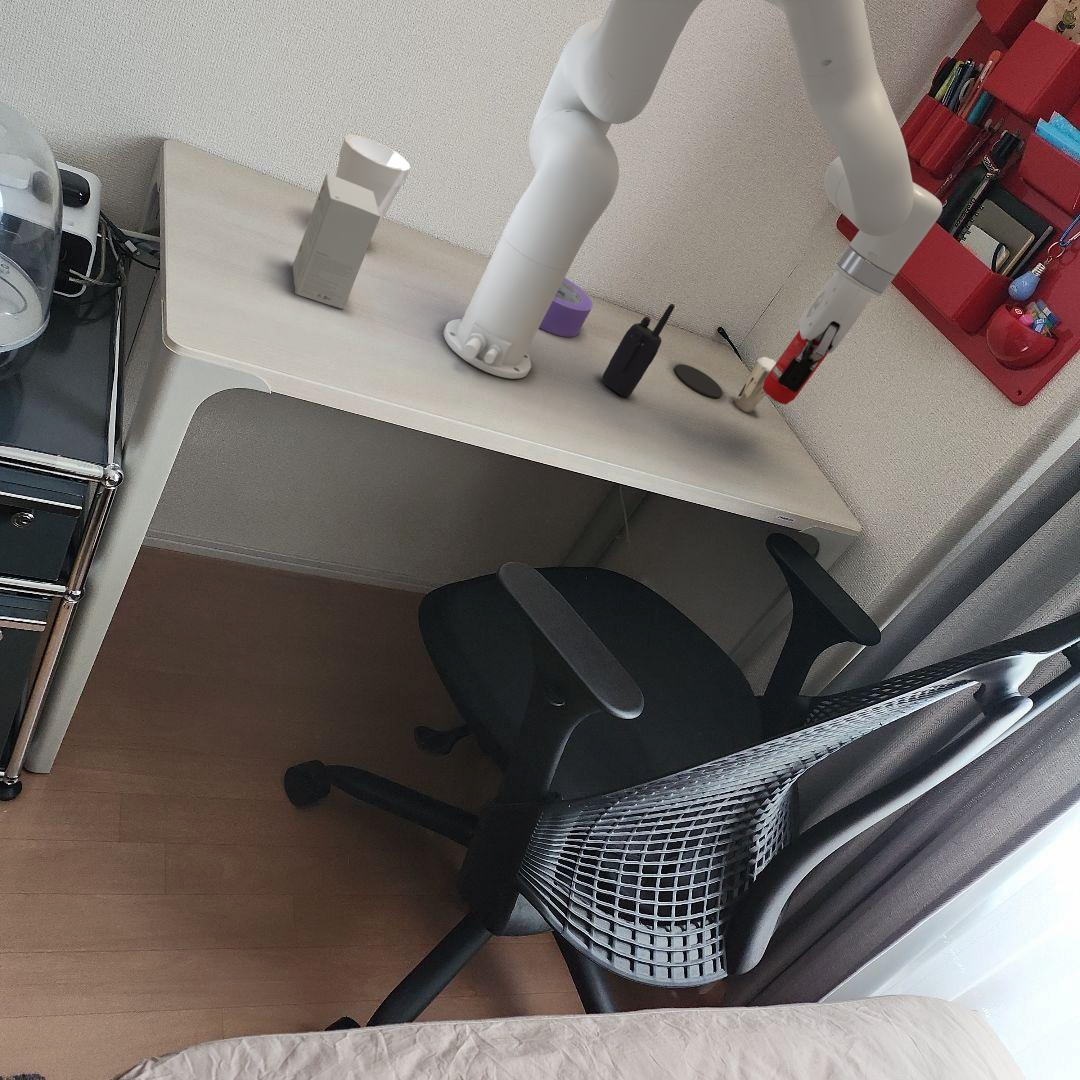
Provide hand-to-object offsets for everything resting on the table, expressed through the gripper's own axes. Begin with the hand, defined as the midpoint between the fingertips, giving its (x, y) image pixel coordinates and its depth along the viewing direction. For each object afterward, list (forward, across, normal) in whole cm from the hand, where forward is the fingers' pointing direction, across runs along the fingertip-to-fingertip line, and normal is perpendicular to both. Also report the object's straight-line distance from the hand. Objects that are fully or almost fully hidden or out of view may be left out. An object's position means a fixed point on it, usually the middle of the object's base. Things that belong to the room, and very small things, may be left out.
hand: (786, 378), depth 145 cm
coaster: (+12, -16, -8) cm, 22 cm away
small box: (+14, +24, -61) cm, 67 cm away
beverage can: (+3, 0, 0) cm, 3 cm away
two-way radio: (+13, +5, -21) cm, 25 cm away
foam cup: (+14, +4, -65) cm, 67 cm away
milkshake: (+12, -16, +1) cm, 21 cm away
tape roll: (+13, -8, -35) cm, 38 cm away
